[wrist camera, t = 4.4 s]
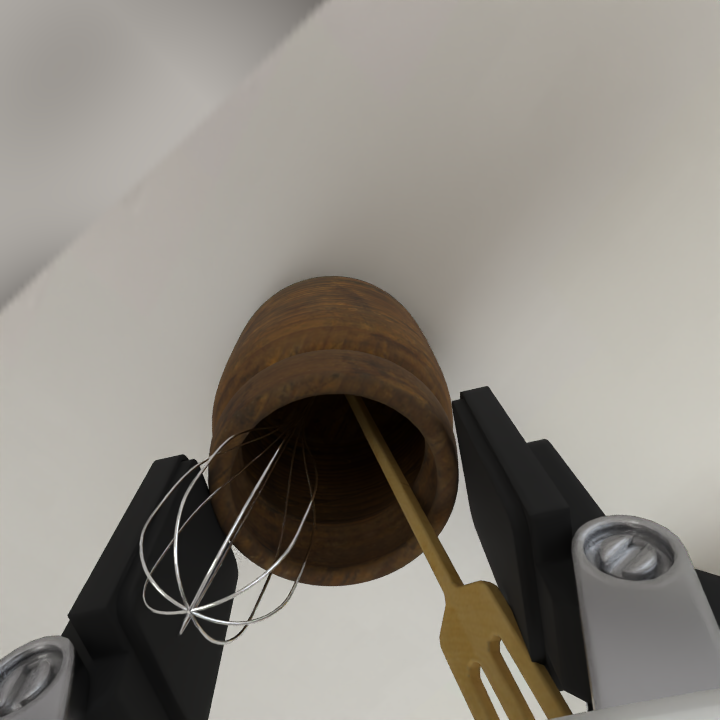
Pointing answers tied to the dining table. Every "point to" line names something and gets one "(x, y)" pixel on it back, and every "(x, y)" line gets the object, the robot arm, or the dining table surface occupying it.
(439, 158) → the dining table surface
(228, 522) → the utensil holder
